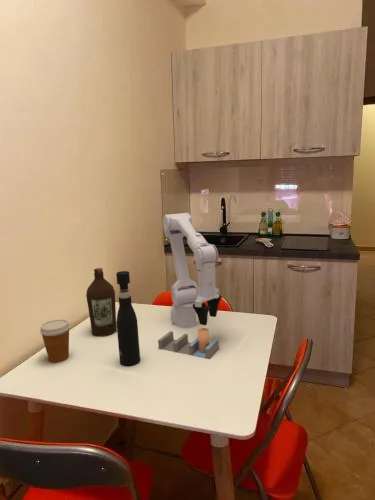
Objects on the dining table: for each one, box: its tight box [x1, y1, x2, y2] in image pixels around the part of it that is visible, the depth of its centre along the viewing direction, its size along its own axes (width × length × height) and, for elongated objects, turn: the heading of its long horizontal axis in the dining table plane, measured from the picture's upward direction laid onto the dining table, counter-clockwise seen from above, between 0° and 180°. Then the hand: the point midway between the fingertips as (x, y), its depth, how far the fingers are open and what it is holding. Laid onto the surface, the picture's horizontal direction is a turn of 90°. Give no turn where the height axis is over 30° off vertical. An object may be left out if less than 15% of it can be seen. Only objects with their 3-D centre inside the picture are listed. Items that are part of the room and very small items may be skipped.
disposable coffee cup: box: [39, 319, 71, 364], centre depth 124 cm, size 10×10×12 cm
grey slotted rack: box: [157, 330, 220, 360], centre depth 125 cm, size 19×8×4 cm, turn 62°
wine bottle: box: [116, 270, 141, 367], centre depth 116 cm, size 6×6×30 cm
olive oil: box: [86, 267, 117, 337], centre depth 143 cm, size 11×11×25 cm
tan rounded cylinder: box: [197, 327, 210, 353], centre depth 122 cm, size 4×4×7 cm
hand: (208, 320), depth 127 cm, fingers open, 7 cm apart
